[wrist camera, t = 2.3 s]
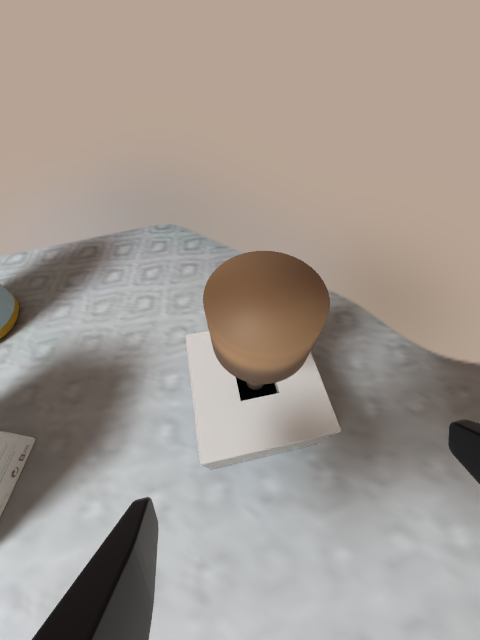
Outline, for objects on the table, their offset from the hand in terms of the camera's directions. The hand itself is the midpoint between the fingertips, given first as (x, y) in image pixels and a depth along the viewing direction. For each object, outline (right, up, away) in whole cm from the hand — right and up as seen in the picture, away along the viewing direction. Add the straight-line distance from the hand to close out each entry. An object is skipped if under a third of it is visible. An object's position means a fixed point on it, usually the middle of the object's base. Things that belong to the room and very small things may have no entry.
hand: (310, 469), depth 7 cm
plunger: (-1, 0, +9) cm, 9 cm away
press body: (-1, -3, +14) cm, 14 cm away
